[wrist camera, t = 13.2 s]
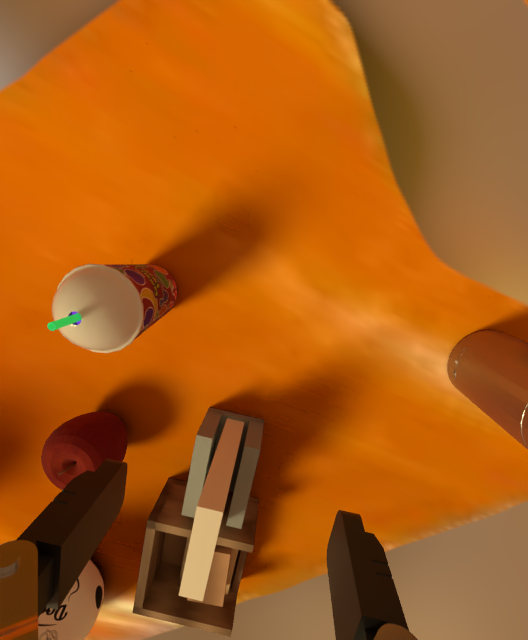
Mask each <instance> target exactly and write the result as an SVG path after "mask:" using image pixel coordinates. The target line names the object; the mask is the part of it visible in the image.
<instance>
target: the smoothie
mask: <svg viewBox="0 0 528 640" xmlns="http://www.w3.org/2000/svg"><path fill="white" fill-rule="evenodd" d="M176 299H177V286H176V284H175V281H174V279H173V278H172V276H171V275H170V273H169V272H167V271H166V270H165V269H163V268H162V267H159V266H156V265H149V264H145V265H100V264H86V265H83V266H79V267H76V268H75V269H73V270H72V271H70V272H69V273H68V274H66V275H65V276H64V278H63V279H62V281H61V282H60V284H59V285H58V288H57V291H56V293H55V295H54V299H53V303H52V315H53V319H54V321H53V322H50V323H48V325H47V326H48V329H49V330H51V331H54V330H56V329H58V330H59V331H60V332H61V334H62V335H63V336H64V337H65V338H66V339H68V340H69V341H70V342H72V343H73V344H75V345H77V346H80V347H82V348H85V349H88V350H90V351H93V352H100V353H111V352H115V351H119V350H121V349H123V348H125V347H126V346H128V345H129V344H131V343H132V342H133V340H134V339H135V338H137V337H138V336H139V335H140V334H142V333H143V332H144V331H145V330H147V329H148V328H149V327H150V326H152V325H153V324H154V323H155V322H157V321H158V320H159V319H160V318H161V317H163V316H164V315H165V314H166V313H168V312H169V311H170V310H171V309H172V307H173V306H174V305H175V302H176Z"/></svg>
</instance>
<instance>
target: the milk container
mask: <svg viewBox="0 0 528 640" xmlns="http://www.w3.org/2000/svg"><path fill="white" fill-rule="evenodd" d="M103 597H104V580H103V577H102V575H101V572H100V570H99V568H98V566H97V565H96V564H95V563H94V562H93V561H92V559H91V558H90V560H89V561H88V563H87V565H86V566H85V568H84V569H83V571H82V572H81V574H80V576H79V577H78V579H77V580H76V582H75V584H74V585H73V587H72V588H71V590H70V591H69V593H68V595H67V596H66V598H65V599H64V601H63V603H62V604H61V606H60V607H59V609H58V610H56V609H51V608H47V607H45V609H44V610H43V612H42V613H41V615H40V616H39V618H38V640H84V639H85V638H86V636H87V635H88V634H89V632H90V630H91V629H92V627H93V625H94V623H95V621H96V619H97V616H98V614H99V611H100V608H101V605H102V601H103Z"/></svg>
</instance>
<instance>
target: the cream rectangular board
mask: <svg viewBox="0 0 528 640" xmlns="http://www.w3.org/2000/svg"><path fill="white" fill-rule="evenodd" d="M243 426H244V422H242V421H237V420H233V419H229V418H227V420H226V423H225V425H224V428H223V431H222V434H221V437H220V440H219V443H218V446H217V449H216V452H215V455H214V458H213V461H212V464H211V467H210V469H209V472H208V475H207V478H206V481H205V484H204V487H203V490H202V493H201V496H200V499H199V502H198V505H197V508H196V513H195V518H194V523H193V528H192V533H191V538H190V542H189V547H188V552H187V557H186V562H185V567H184V572H183V576H182V581H181V586H180V591H179V596H182V597H186V598H190V599H194V600H198V601H203V598H204V594H205V590H206V585H207V581H208V577H209V572H210V568H211V564H212V560H213V555H214V551H215V547H216V543H217V538H218V534H219V530H220V526H221V521H222V517H223V513H224V508H225V504H226V500H227V496H228V491H229V487H230V483H231V478H232V474H233V470H234V465H235V461H236V457H237V452H238V448H239V444H240V439H241V435H242V431H243Z"/></svg>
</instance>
